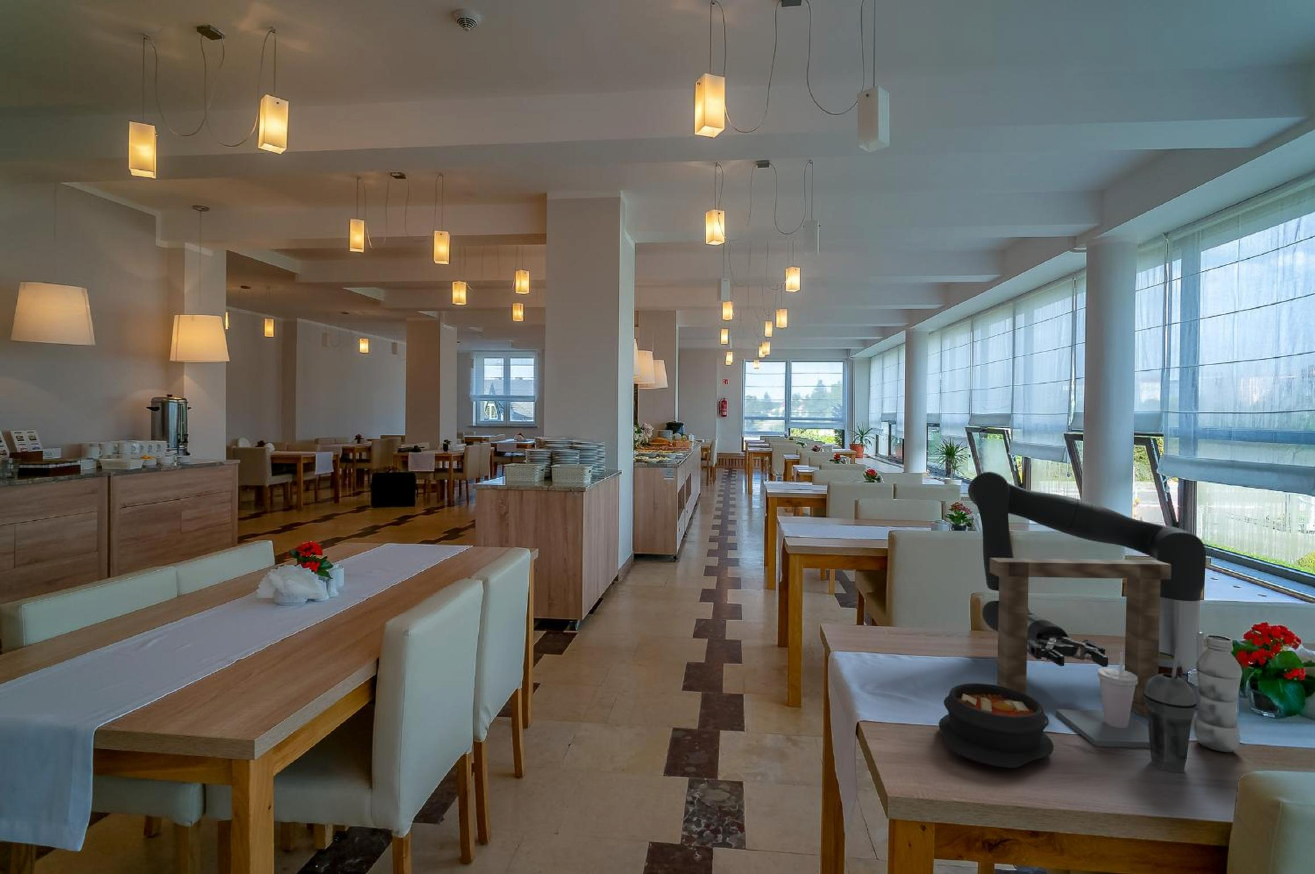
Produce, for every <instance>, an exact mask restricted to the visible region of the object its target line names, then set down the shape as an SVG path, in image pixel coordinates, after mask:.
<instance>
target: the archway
mask: <svg viewBox="0 0 1315 874" xmlns="http://www.w3.org/2000/svg"><path fill="white" fill-rule="evenodd" d="M990 573H992V574H994V575H996V576H998V577H999V591H998V601H999V611H998V632H997V663H996V665H997V668H996V670H997V672H996V674H997V677H996V685H997V686H1002V687H1006V688H1010V689H1013V690H1016V691H1019V692H1022V693H1024V694H1026V695H1027V682H1028V681H1027V679H1028V678H1027V675H1028V674H1027V672H1028V671H1027V669H1028V652H1027V632H1028V609H1029V581H1030V580H1029V578H1064V579H1065V578H1067V579H1071V578H1072V579H1121V580H1122V579H1125V580H1126V596H1125V597H1126V598H1125V599H1126V600H1125V601H1126V602H1125V603H1126V606H1125V636H1124V637H1125V638H1124V639H1125V642H1124V645H1125V646H1124V670H1125V671H1128V672H1131V673H1133V674H1134V675H1136V676H1137V677H1138V684H1136V685H1135V691H1134V696H1133V701H1132V707H1131V711H1134V712H1135V713H1137V714H1138V715H1140V716H1142V717H1143V718H1146V719H1148V717H1147V707H1146V705H1145V700H1144V695H1143V693H1144V690H1145V686H1146V684H1147V682H1148V681H1149V679H1150V678H1152V677H1153V676H1155V675H1158V661H1159V622H1160V583H1161V579H1171V564H1168V563H1164V562H1161V561H1158V560H1157V559H1155V560H1154V559H1153V560H1152V559H1101V558H1100V559H1097V558H1096V559H1095V558H1094V559H1092V558H1091V559H1089V558H1088V559H1087V558H1081V559H1080V558H1032V557H1030V558H1028V557H1026V558H1025V557H1023V558H1018V557H1013V558H990Z"/></svg>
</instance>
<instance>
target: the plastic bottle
mask: <svg viewBox="0 0 1315 874" xmlns="http://www.w3.org/2000/svg"><path fill="white" fill-rule="evenodd" d="M1205 636H1206V637H1205V647H1206V649H1205V650H1203V653H1202V654H1201V655H1200V656H1199V657H1198V659H1197V661H1196V670H1197V674H1196V676H1197V684H1198V685H1197V686H1198V687H1197V688H1198V702H1197V703H1198V704H1197V709H1196V710H1197V711H1196V716H1195V719H1194V723H1193V728H1192V729H1193V734H1194V737H1195V739H1196V741H1197V742H1198V743H1199V744H1200V745H1201V746H1204V747H1206V748H1208V749H1210V750H1213V751H1218V752H1225V753H1232V752H1235V751H1236V750H1237V749H1238V748H1239V746H1240V743H1241V733H1240V729H1239V726H1238V725H1239V724H1238V722H1239V721H1238V712H1237V706H1238V698H1239V697H1238V696H1239V690H1240V687H1241V686H1240V685H1241V681H1242V677H1243V670H1242V666H1241V665H1240V663H1239V662H1238V660H1237V659H1236V657H1235V656H1234V655H1233V654H1232V652H1233V651H1234V647H1233V639H1232V638H1230V637H1227V636H1223V635H1218V634H1206V635H1205Z"/></svg>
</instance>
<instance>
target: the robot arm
mask: <svg viewBox="0 0 1315 874" xmlns="http://www.w3.org/2000/svg"><path fill="white" fill-rule="evenodd" d="M967 493H968V494H967V495H968V497H969V500H970V501H971V502H972V503H973V504H974V505H976V507H977V510H978V514H979V517H980V523H981V531H982V532H981V533H982V557H983V567H984V573H985V574H984V575H985V582H986V586H987V588H988V589H989V590H991V591H997V592H999V577H998V576H996V575H994V574H992V573H990V558H1014V553H1013V547H1012V541H1011V534H1010V523H1009V522H1010V521H1009V515H1013V516H1018V517H1021V518H1022V519H1023V518H1024V519H1026V520H1029V521H1031V522H1033V523H1036V524H1039V525H1041V526H1043V527H1047V528H1048V529H1052V530H1055V531H1058V532H1060V533H1064V534H1067V535H1069V536H1072V537H1076V538H1078V539H1079V538H1080V539H1083V540H1087V541H1091V542H1097V543H1103V544H1109V545H1115V546H1116V545H1117V546H1120V547H1125V548H1128V549H1131V550H1133V551H1136V552H1139V553H1141V554H1144V555H1147V556H1149V557H1151V558H1153V559H1155V560H1158V561H1161V562H1164V563H1168V564H1171V579H1161V583H1160V622H1159V637H1160V640H1159V652H1164V653H1168V654H1171V655H1174V656H1175V649H1178V650H1179V655H1178V660H1179V661H1180V663H1181V665H1182V670H1183V675H1188V674H1187V673H1188V672H1189V671H1192V670H1193V669H1196V661H1197V659H1198V657H1199V656H1200V655H1201V654H1202V653H1203V652H1204V642H1205V635H1204V632H1202V631H1201V600H1202V599H1201V597H1202V592H1203V589H1204V588H1205V580H1206V579H1205V578H1206V566H1207V551H1206V548H1205V544H1204V542H1203V541H1202V539H1200V538H1199V536H1197V535H1195V534H1193V532H1192V533H1191V532H1190V531H1187V530H1185V529H1182V528H1180V527H1176V526H1170V525H1164V524H1158V523H1152V522H1148V521H1144V520H1140V519H1136V518H1132V517H1130V516H1127V515H1124V514H1122V513H1120V512H1117V511H1115V510H1112V509H1110V508H1107V507H1104V506H1101V505H1098V504H1096V503H1093V502H1090V501H1086V500H1083V499H1079V498H1077V497H1072V496H1068V495H1063V494H1056V493H1049V492H1041V491H1035V490H1030V489H1025V488H1023V487H1020V486H1017V485H1014V484H1012V483H1008V481H1007V479H1006V478H1005V477H1004V476H1002V475H1001V474H999V472H998V473H997V472H994V471H985V472H981V473H979V474H978V475H976V476H975V477H974V478H973V479H972V480H971V482H970V483H969V484H968V488H967ZM998 611H999V600H990V601H988V602H987V603H985V604H984V606H983V608H982V610H981V613H982V617H983V618H982V619H983V621H984V622H985V624H986V625H987V626H988V627H989V628H990V629H992V630H993V631H995V632H996V633H998ZM1078 652H1079V653H1080V654H1078ZM1027 654H1029V655H1031V656H1032V657H1033V658H1034V659H1036V660H1042V658H1044V659H1045V660H1046V661H1048V662H1049V661H1051V662H1052V663H1053V664H1055V665H1057V666H1060V667H1064V666H1065V658H1073V659H1076V660H1080V661H1084V660H1088V661H1092V662H1094V663H1095V664H1097V665H1098V666H1100V667H1101V668H1108V665H1109V657H1108V656H1107V655H1106V647H1103V646H1102V645H1100V644H1097V643H1095V642H1093V641H1091V640H1089V639H1083V642H1081V641H1077V640H1075V639H1072V638H1070V637H1069V636H1068V634H1067V632H1066V630H1064V629H1063V628H1062V627H1060V626H1058V625H1057V624H1055V623H1053V622H1051V621H1049V620H1048V619H1046V618H1043V617H1041V616H1038V615H1036V614H1034V613H1032V612H1031V611H1030V609H1029V608H1028V632H1027Z"/></svg>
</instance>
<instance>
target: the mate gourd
mask: <svg viewBox="0 0 1315 874" xmlns="http://www.w3.org/2000/svg"><path fill="white" fill-rule="evenodd" d="M1159 640H1160V637H1159ZM1173 663H1174V655H1171V654H1168V653H1164V652H1159V661H1158V674H1172V670H1173ZM1183 675H1184V674H1183V670H1182V665H1181V663H1180V661H1179V660H1178V663H1177V670H1176V676H1177V677H1179V678H1181V679H1183Z"/></svg>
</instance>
